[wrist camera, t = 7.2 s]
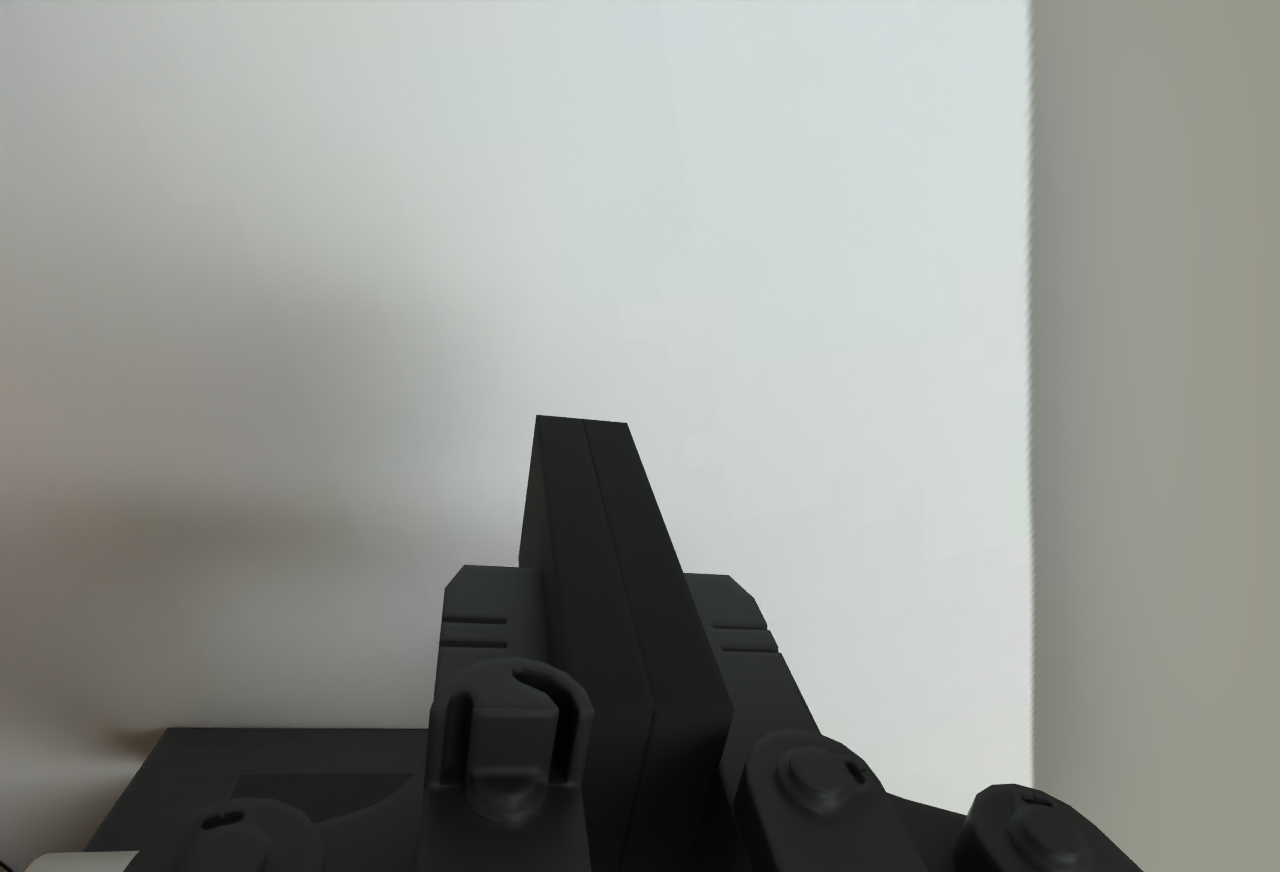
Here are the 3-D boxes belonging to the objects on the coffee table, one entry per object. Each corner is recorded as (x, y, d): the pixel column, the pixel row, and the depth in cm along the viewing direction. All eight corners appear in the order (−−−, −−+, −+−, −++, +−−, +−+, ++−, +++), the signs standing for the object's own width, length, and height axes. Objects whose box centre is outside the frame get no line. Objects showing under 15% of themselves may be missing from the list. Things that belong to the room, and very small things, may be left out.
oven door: (171, 560, 23) (-404, 1086, 8) (798, 589, 28) (1187, 967, 12) (166, 774, 24) (-344, 1580, 9) (768, 769, 29) (1089, 1314, 14)
